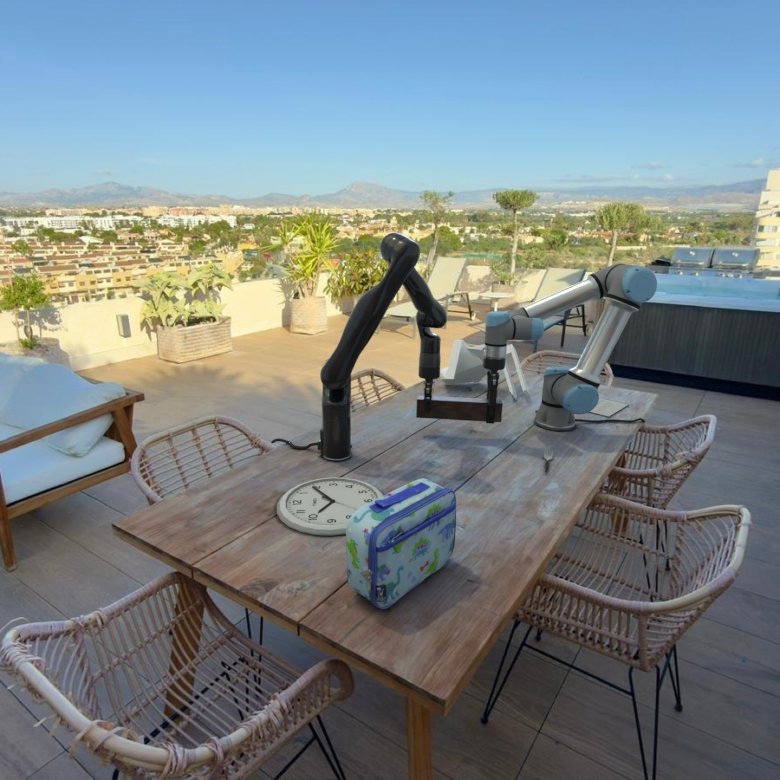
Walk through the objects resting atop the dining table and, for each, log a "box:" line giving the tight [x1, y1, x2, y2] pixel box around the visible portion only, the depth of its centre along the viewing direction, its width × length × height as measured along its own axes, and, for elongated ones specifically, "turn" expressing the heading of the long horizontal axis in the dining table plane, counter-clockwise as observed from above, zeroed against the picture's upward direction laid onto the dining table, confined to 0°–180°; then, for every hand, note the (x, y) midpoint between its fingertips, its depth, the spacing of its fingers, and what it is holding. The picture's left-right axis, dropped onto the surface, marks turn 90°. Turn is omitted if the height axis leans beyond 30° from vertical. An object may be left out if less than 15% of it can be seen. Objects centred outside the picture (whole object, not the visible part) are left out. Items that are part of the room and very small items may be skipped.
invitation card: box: [589, 397, 629, 418], centre depth 226 cm, size 21×1×15 cm
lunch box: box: [345, 477, 457, 610], centre depth 110 cm, size 26×11×21 cm, turn 134°
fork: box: [543, 448, 554, 473], centre depth 170 cm, size 3×16×2 cm, turn 160°
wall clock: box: [276, 476, 385, 537], centre depth 142 cm, size 30×2×30 cm
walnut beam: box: [415, 395, 504, 423], centre depth 187 cm, size 30×4×7 cm, turn 83°
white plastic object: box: [440, 338, 531, 400], centre depth 245 cm, size 37×45×31 cm
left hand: (427, 409), depth 188 cm, fingers closed on walnut beam, 4 cm apart
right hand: (489, 420), depth 187 cm, fingers closed on walnut beam, 4 cm apart
